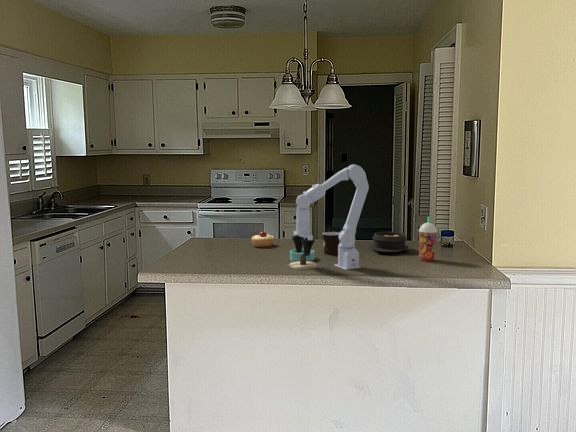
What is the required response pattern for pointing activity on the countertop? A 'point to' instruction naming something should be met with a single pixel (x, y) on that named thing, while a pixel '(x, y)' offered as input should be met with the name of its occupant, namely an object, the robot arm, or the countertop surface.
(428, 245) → the smoothie
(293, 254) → the bowl
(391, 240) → the casserole
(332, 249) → the coffee mug
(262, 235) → the pastry
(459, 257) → the countertop surface
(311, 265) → the lid
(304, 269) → the mat
